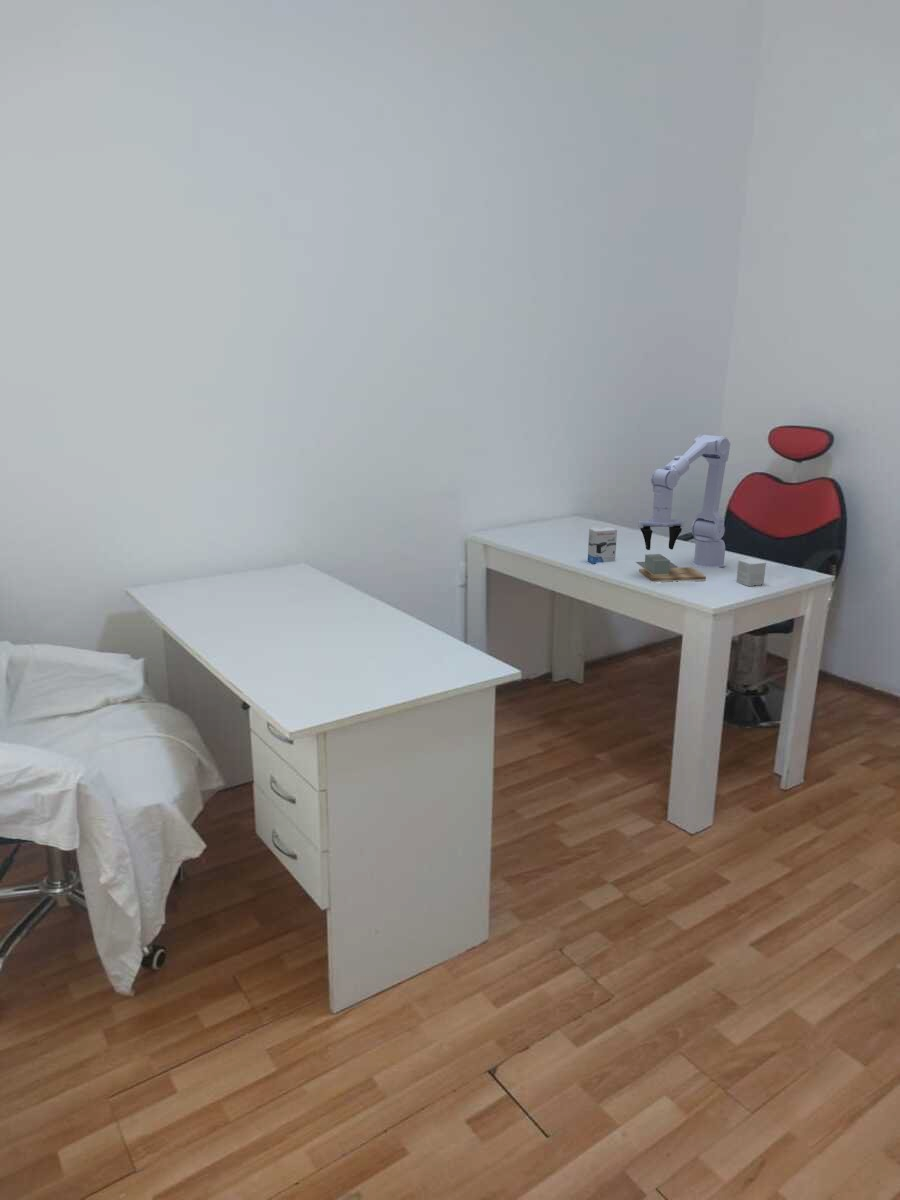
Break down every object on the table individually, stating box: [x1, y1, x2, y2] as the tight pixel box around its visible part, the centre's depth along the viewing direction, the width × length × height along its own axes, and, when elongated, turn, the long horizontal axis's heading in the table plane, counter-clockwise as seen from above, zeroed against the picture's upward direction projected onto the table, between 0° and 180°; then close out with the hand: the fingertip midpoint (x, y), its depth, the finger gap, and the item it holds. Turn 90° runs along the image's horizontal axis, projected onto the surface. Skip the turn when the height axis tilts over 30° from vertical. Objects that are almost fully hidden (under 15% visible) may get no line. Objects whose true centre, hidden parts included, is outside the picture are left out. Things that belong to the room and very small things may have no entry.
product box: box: [736, 557, 767, 587], centre depth 278 cm, size 6×6×7 cm
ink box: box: [587, 526, 618, 565], centre depth 303 cm, size 8×5×12 cm, turn 105°
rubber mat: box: [635, 561, 680, 569], centre depth 298 cm, size 12×11×1 cm
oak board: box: [638, 566, 707, 583], centre depth 285 cm, size 18×12×2 cm, turn 97°
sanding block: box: [643, 553, 671, 576], centre depth 284 cm, size 5×9×5 cm, turn 7°
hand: (659, 549), depth 283 cm, fingers open, 7 cm apart
